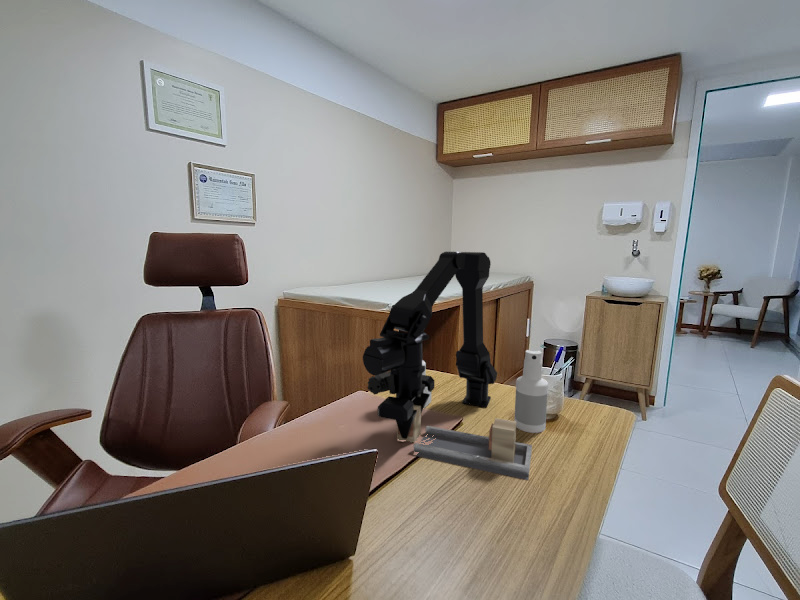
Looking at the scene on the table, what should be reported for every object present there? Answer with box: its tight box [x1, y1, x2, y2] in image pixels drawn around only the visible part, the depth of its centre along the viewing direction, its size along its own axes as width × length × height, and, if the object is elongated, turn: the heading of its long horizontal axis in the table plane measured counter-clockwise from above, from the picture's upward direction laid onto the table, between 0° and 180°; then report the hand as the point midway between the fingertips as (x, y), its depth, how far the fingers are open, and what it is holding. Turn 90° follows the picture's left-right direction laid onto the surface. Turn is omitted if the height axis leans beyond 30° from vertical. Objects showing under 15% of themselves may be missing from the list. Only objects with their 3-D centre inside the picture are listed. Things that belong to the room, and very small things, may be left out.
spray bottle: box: [513, 349, 549, 434], centre depth 86 cm, size 7×7×18 cm
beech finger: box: [396, 405, 422, 443], centre depth 82 cm, size 5×4×7 cm
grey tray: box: [413, 425, 533, 477], centre depth 76 cm, size 9×22×2 cm, turn 68°
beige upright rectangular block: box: [488, 417, 517, 463], centre depth 74 cm, size 4×5×7 cm
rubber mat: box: [415, 433, 530, 481], centre depth 76 cm, size 11×22×1 cm, turn 68°
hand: (408, 432), depth 82 cm, fingers closed on beech finger, 5 cm apart
